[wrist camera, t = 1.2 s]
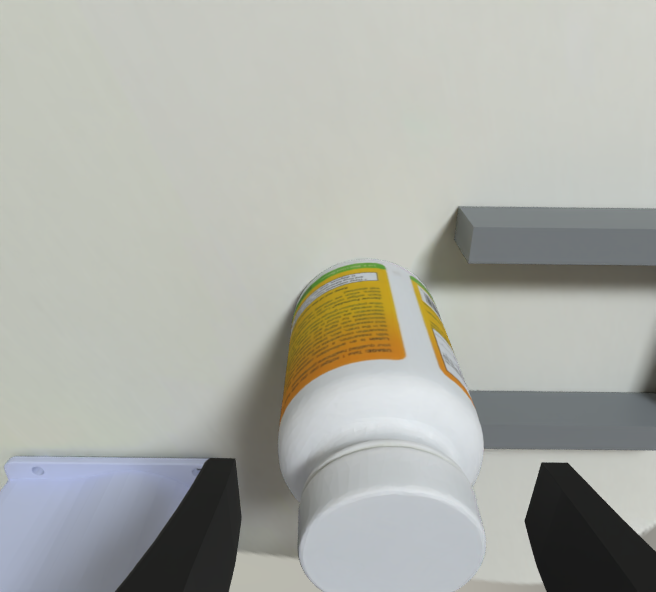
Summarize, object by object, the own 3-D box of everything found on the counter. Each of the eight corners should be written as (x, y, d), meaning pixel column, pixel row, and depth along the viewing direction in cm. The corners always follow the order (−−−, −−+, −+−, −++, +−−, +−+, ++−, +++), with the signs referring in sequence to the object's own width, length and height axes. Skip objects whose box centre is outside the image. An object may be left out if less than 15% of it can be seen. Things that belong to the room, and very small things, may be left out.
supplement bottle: (272, 350, 20) (228, 597, 11) (326, 232, 17) (322, 428, 9) (395, 393, 21) (441, 650, 12) (462, 286, 18) (576, 511, 10)
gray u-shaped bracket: (430, 413, 21) (439, 448, 19) (459, 206, 17) (473, 226, 15) (679, 415, 21) (711, 451, 19) (770, 210, 17) (820, 231, 15)
